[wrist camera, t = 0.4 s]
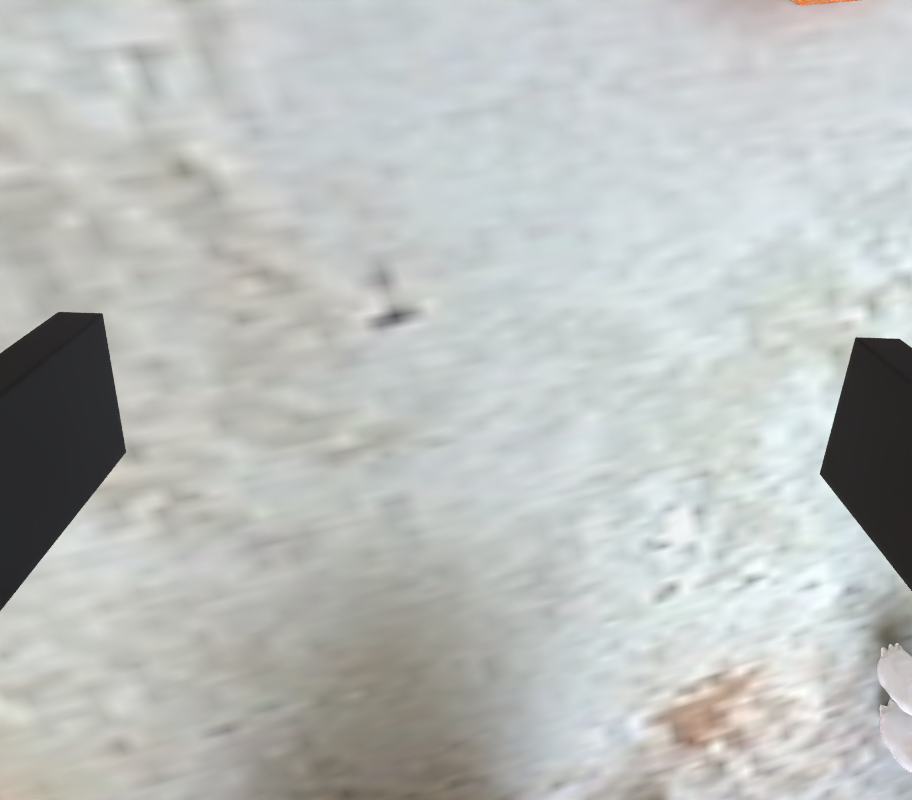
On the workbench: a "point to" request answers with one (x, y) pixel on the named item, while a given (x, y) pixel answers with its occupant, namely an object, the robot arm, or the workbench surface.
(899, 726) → the white dinosaur figurine
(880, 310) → the workbench surface
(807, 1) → the bucket
